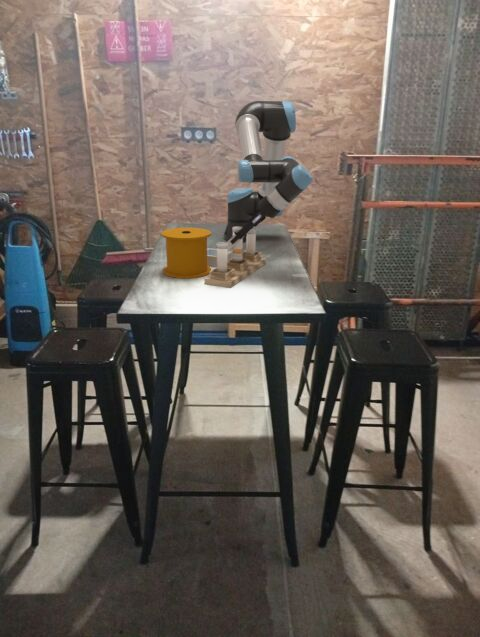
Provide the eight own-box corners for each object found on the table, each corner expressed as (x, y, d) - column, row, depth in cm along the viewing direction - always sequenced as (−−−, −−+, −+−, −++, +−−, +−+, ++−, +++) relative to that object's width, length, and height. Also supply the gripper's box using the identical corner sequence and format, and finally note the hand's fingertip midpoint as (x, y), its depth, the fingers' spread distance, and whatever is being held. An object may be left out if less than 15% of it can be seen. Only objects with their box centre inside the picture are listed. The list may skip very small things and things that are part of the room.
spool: (213, 277, 175) (213, 236, 170) (163, 279, 173) (161, 238, 167) (208, 264, 192) (208, 226, 186) (162, 265, 189) (161, 227, 183)
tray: (208, 257, 201) (208, 248, 199) (232, 260, 197) (233, 251, 195) (196, 264, 191) (195, 254, 190) (221, 267, 187) (221, 257, 186)
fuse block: (242, 260, 197) (242, 249, 195) (265, 263, 193) (266, 252, 192) (204, 283, 168) (204, 271, 167) (230, 287, 165) (230, 275, 163)
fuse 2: (247, 257, 193) (248, 227, 189) (256, 258, 192) (257, 228, 187) (244, 260, 190) (244, 229, 186) (253, 261, 189) (253, 230, 184)
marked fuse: (234, 257, 181) (235, 225, 176) (244, 259, 180) (244, 226, 175) (230, 260, 178) (230, 227, 173) (240, 261, 176) (240, 228, 172)
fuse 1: (219, 275, 171) (219, 241, 167) (229, 276, 170) (229, 242, 165) (214, 278, 168) (214, 244, 164) (224, 279, 167) (224, 245, 162)
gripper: (276, 215, 160) (228, 260, 170) (284, 207, 176) (239, 248, 186) (261, 198, 160) (213, 244, 169) (270, 191, 175) (226, 234, 185)
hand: (227, 246), depth 177 cm, fingers open, 4 cm apart
